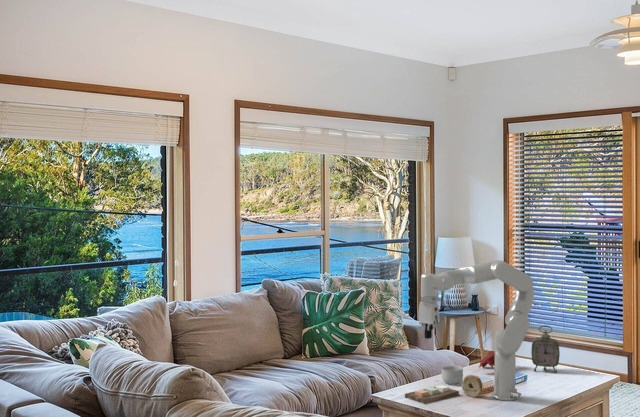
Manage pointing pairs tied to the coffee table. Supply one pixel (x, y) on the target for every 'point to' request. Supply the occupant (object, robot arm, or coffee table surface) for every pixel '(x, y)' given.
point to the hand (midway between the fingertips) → (428, 338)
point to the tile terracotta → (421, 393)
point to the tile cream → (442, 388)
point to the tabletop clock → (545, 351)
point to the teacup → (452, 374)
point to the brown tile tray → (432, 396)
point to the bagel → (469, 388)
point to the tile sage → (432, 390)
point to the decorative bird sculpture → (488, 360)
